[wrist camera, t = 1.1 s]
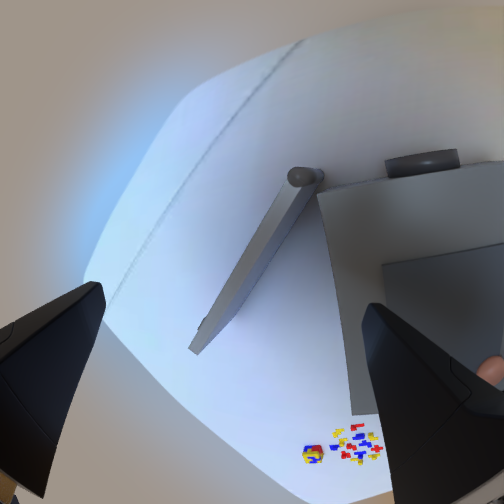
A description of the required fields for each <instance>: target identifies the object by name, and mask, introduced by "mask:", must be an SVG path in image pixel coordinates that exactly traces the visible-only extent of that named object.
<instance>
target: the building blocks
mask: <svg viewBox="0 0 504 504" xmlns="http://www.w3.org/2000/svg"><path fill="white" fill-rule="evenodd" d="M363 426H364V423H363V424H356V425H351V431H355V430H357V429H356V427H363ZM335 430H336V432H332V434H333V437H334V438H336V437H338V436H337V435H340V434H341V432H342V431H344V428H343V429H335ZM364 437H365V435H364V434H356V436H355V437H352V438H353V440H360V439H364ZM368 438H369V439H370V441H372V440H378V437H374V436H373V432H372V433H369V434H368ZM339 441H340V442H339V445H329V446H330V449H331V450H333V451H334V450H337V449H338V447H344V441H348V440H347V438H343V439H339ZM366 445H367V446H368V448H369V447H372V445H371V442H366V440H364V441H362V443H360V444H359V446H366ZM374 447H375V448H371V451H375V452H376V453H377V452H380V451H379V450H381V449H383V447H379V446H378V445H374ZM346 448H347V449H351V448H352V449H353V450H357V448H356V445H353V446H352V445H351V443H349V444H347V446H346ZM341 453H342V456H341V458H342V459H346V456H347V458H351V456H350V453H346V452H345V451H341ZM363 454H366V451H362V452H354V455H358V458H353V459H350V460H351V461H358V465H362V464H363V460H362V458H363ZM323 455H324V453H323V451H322V448H321V446H320V445H313V446H305V448H304V451H303V453H302V456H303V458H304V460H305V462H306V463H321V462H322V459H323ZM378 456H380V454H374V455H368V457H369V458H371V457H372V460H376V459H377V457H378Z"/></svg>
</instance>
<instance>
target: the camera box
mask: <svg viewBox="0 0 504 504" xmlns="http://www.w3.org/2000/svg"><path fill="white" fill-rule="evenodd" d="M385 164H386V169H387V173H388V177H385V178H380V179H374V180H369V181H363V182H358V183H353V184H348V185H343V186H338V187H333V188H329V189H327V190H325V191H323V192H320V193H318V194H317V198H318V202H319V206H320V211H321V216H322V220H323V225H324V230H325V235H326V239H327V244H328V249H329V255H330V260H331V265H332V271H333V276H334V282H335V288H336V294H337V300H338V306H339V312H340V319H341V325H342V332H343V340H344V347H345V355H346V363H347V371H348V380H349V389H350V400H351V411H352V416H353V415H368V414H379V413H378V409H377V404H376V400H375V396H374V392H373V388H372V384H371V380H370V376H369V372H368V367H367V362H366V356H365V349H364V342H363V336H362V329H361V323H362V319H363V317H364V314H365V311H366V308H367V306H368V304H369V303H381V304H383V305H384V306H385V307H387V308H388V309H390V310H391V311H392V312H394V313H395V314H396V315H398V316H399V317H400V318H402V319H403V320H404V321H406V322H407V323H409V324H410V325H411V326H413V327H414V328H415V329H417V330H418V331H419V332H421V333H422V334H423V335H425V336H426V337H427V338H429V339H430V340H431V341H432V342H434V343H435V344H436V345H438V346H439V347H440V348H442V349H443V350H444V351H446V352H447V353H448V354H449V355H450V356H452V357H453V358H455V359H456V360H457V361H459V362H460V363H461V364H463V365H464V366H465V367H467V368H468V369H469V370H471V371H472V372H474V373H475V374H476V375H478V376H479V377H481V378H482V379H484V380H485V381H487V382H488V383H490V384H491V385H493V386H494V387H496V388H497V389H499V390H500V391H503V390H504V161H488V162H481V163H473V164H466V165H460V162H459V157H458V152H457V149H448V150H440V151H433V152H427V153H420V154H415V155H409V156H404V157H398V158H394V159H389V160H385Z"/></svg>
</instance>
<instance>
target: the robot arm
mask: <svg viewBox="0 0 504 504" xmlns="http://www.w3.org/2000/svg"><path fill="white" fill-rule="evenodd" d="M105 308H106V300H105V296H104V292H103V287H102V285H101V283H100V282H93V281H89V282H87V283H85V284H83V285H81V286H80V287H78V288H76V289H74V290H72V291H70V292H68V293H66V294H64V295H62V296H60V297H58V298H56V299H54V300H53V301H51V302H49V303H47V304H45V305H43V306H41V307H39V308H38V309H36V310H34V311H32V312H30V313H28V314H27V315H25V316H23V317H21V318H19V319H18V320H16V321H15V322H12V323H10V324H8V325H7V326H5V327H3V328H1V329H0V504H19V502H18V499H17V497H16V495H14V492H15V489H16V487H17V485H18V486H20V487H21V488H23V489H25V490H27V491H28V492H30V493H32V494H34V495H36V496H38V497H40V498H42V499H43V497H44V494H45V490H46V486H47V482H48V477H49V474H50V469H51V466H52V462H53V459H54V455H55V452H56V448H57V444H58V441H59V438H60V435H61V432H62V428H63V425H64V422H65V419H66V416H67V413H68V410H69V407H70V405H71V402H72V399H73V396H74V394H75V391H76V388H77V386H78V383H79V380H80V378H81V375H82V373H83V370H84V368H85V365H86V363H87V360H88V358H89V355H90V353H91V351H92V348H93V346H94V343H95V340H96V337H97V334H98V330H99V327H100V324H101V321H102V318H103V315H104V312H105ZM361 329H362V336H363V342H364V349H365V356H366V362H367V367H368V372H369V376H370V380H371V384H372V388H373V392H374V396H375V400H376V404H377V409H378V413H379V418H380V422H381V427H382V432H383V437H384V442H385V447H386V452H387V457H388V463H389V469H390V474H391V482H392V488H393V494H394V501H395V504H504V390H503V391H500V390H499V389H497V388H496V387H494V386H493V385H491V384H490V383H488V382H487V381H485V380H484V379H482V378H481V377H479V376H478V375H476V374H475V373H474V372H472V371H471V370H469V369H468V368H467V367H465V366H464V365H463V364H461V363H460V362H459V361H457V360H456V359H455V358H453V357H452V356H450V355H449V354H448V353H447V352H446V351H444V350H443V349H442V348H440V347H439V346H438V345H436V344H435V343H434V342H432V341H431V340H430V339H429V338H427V337H426V336H425V335H423V334H422V333H421V332H419V331H418V330H417V329H415V328H414V327H413V326H411V325H410V324H409V323H407V322H406V321H404V320H403V319H402V318H400V317H399V316H398V315H396V314H395V313H394V312H392V311H391V310H390V309H388V308H387V307H385V306H384V305H383V304H381V303H369V304H368V306H367V308H366V311H365V314H364V317H363V319H362V323H361Z"/></svg>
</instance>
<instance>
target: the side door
mask: <svg viewBox="0 0 504 504" xmlns="http://www.w3.org/2000/svg"><path fill="white" fill-rule="evenodd" d="M323 179H324V174H323V172H322V171H321V170H320V169H317V168H305V167H294V168H292V169H291V170H290V171H289V172H288V175H287V180H286V181H285V183H284V185H283V186H282V188H281V190H280V192H279V193H278V195H277V197H276V198H275V200H274V202H273V203H272V205H271V207H270V208H269V210H268V212H267V214H266V215H265V217H264V219H263V220H262V222H261V224H260V225H259V227H258V229H257V231H256V232H255V234H254V236H253V237H252V239H251V241H250V243H249V244H248V246H247V248H246V249H245V251H244V253H243V254H242V256H241V258H240V260H239V261H238V263H237V265H236V266H235V268H234V270H233V272H232V273H231V275H230V277H229V278H228V280H227V282H226V284H225V285H224V287H223V289H222V290H221V292H220V294H219V296H218V297H217V299H216V301H215V303H214V304H213V306H212V308H211V309H210V311H209V313H208V315H207V316H206V317H205V318H204V319H203V321H202V322H201V324H200V326H199V328H198V329H197V330H198V332H197V334H196V335H195V337H194V339H193V341H192V342H191V344H190V346H189V347H188V349H190V350H191V351H192V352H193V353H195V354H196V355H198V354H199V353H200V352H201V351H202V350H203V349H204V348H205V347H206V346H207V345H208V344H209V343H210V342H211V341H212V340H213V339H214V338H215V337H216V336H217V335H218V334H219V332H220V331H221V330H222V329H223V328H224V327H225V326H226V325H227V324H228V323H229V322H230V321H231V320H232V319H233V318H234V316H235V315H236V313H237V312H238V310H239V308H240V307H241V305H242V304H243V302H244V301H245V299H246V298H247V296H248V295H249V293H250V292H251V290H252V288H253V287H254V285H255V284H256V282H257V281H258V279H259V278H260V276H261V275H262V273H263V271H264V270H265V268H266V267H267V265H268V264H269V262H270V260H271V259H272V257H273V256H274V254H275V253H276V251H277V250H278V248H279V246H280V245H281V243H282V242H283V240H284V238H285V237H286V235H287V234H288V232H289V231H290V229H291V227H292V226H293V224H294V223H295V221H296V219H297V218H298V216H299V215H300V213H301V211H302V210H303V208H304V207H305V205H306V203H307V202H308V200H309V199H310V197H311V195H312V194H313V192H314V191H315V189H316V187H317V186H318V184H319V183H320V182H322V180H323Z"/></svg>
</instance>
